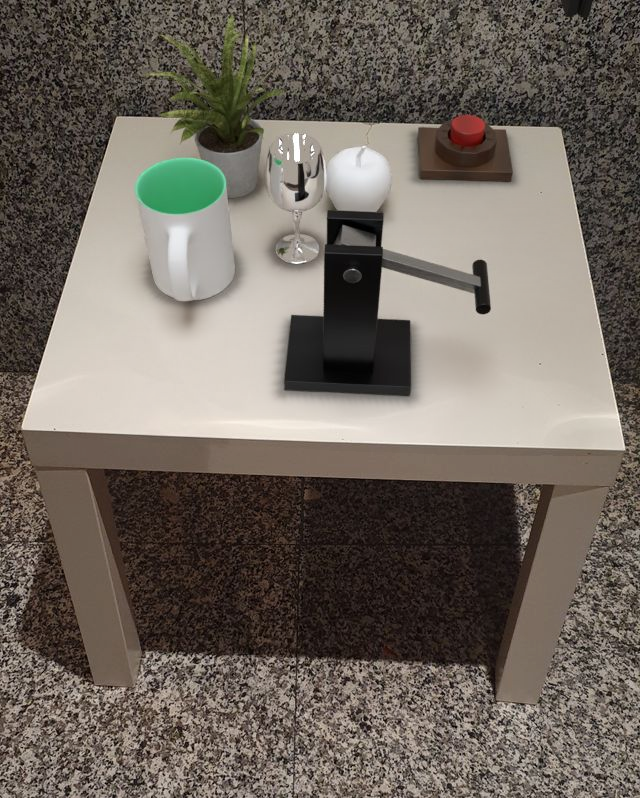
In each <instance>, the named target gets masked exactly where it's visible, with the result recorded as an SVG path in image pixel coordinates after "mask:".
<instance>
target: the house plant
mask: <svg viewBox="0 0 640 798" xmlns="http://www.w3.org/2000/svg"><path fill="white" fill-rule="evenodd" d="M234 22H235V17H234V13H231V15H230V17H229V19H228V21H227V24H226V27H225V32H224V37H223V38H224V40H223V44H222V45H223V46H222V54H221V61H222V64H221V68H220V69H221V71H220V77H219V79H218V77H217V76H216V74H215V73H214V72H213V71H212V70H211V69H210V68H209V67H207V66H206V65H205V64H204V62H203V60H202V57H201V56H200V55H199V54H198V52H197V51H196V50H195V49H193V48H192V47H191V46H189V44H186V43H183V42H179V41H177V40H175V39H174V38H171V37H170V36H168V35H165V34H164V35H163V34H160V33H158V35H159V36H161V37H163V38H164V39H166V40H167V41H169V42H170V43H171V44H173V45H174V46H175V47H176V49H178V50H179V51H180V52H181V53H182V55H183V56H184V57H185V60H187V62H188V64H189V65H190V67H191V70H192V71H193V72H194V73H195V75H196V76H197V78H198V79H199V80H200V82H201V84H202V85H203V87H204V88H205V90H206V91H207V93H206V92H205V91H204V90H203V89H202V88H201V87H200V86H199V85H197V84H196V83H194V82H193V81H191V80H190V79H189V78H187V77H186V76H184V75H182V74H179V73H176V72H173V71H158V72H156V71H155V72H148V73H145V74H144V76H166V78H160V79H158V81H163V80H166V81H167V80H170V81H175V82H177V84H178V85H180V87H181V88H182V89H183V90H184V91H180V92H177V93H175V94H174V95H172V97H171V98H170V99H169V102H170V101H190V102H192V103H193V104H194V105H195V106H196V107H197V108H198V109H176V110H175V109H174V110H170V111H165V112H162V113H160V114H158V115H156V117H159V116H160V117H162V119H167V118H177V119H179V120H177V121H176V122H175V124H174V125H173V127H172V129H171V131H170V134H169V135H171V134H172V133H173V132H175V131H178V130H182V129H183V131H182V134H181V137H180V138H181V139H180V143H179V144H180V146H181V145H182V143H183V142H184V141H186V140H188V139H190V138H192V137H194V142H195V145H196V148H197V151H198V155H199V157H200V160H204V161H207V162H209V163H211V164H213V165H215V166H216V167H218V168H219V169H220V170H221V171H222V173H223V174H224V176H225V179H226V187H227V197H228V199H237V198H242V197H245V196H247V195H249V194H251V193H252V192H253V191H255V189H256V187H257V185H258V178H259V169H260V161H261V160H260V159H261V152H262V142H263V140H264V132H265V129H264V128H263V127H261V125H260V124H259V123H258V121H256V120H255V119H253V118H252V117H251V115H250V114H251V112H252V111H253V110H254V108H255V107H256V106H257V105H258V104H260V103H261V102H263V101H265V100H267V99H268V98H271V97H275V96H276V95H286V93H285V92H284V91H282V90H281V89H279V90H278V89H273V90H269V91H267V92H266V90H265V89H264V88H263V87H259V86H260V85H261V84H262V83H263V82H264V80H265V79H266V78H267V77H268V76H269V75H270V74H271V73H272V72H273V71H274V70H275V69H276V67H274V68H273V69H272V70H270V71H269V72H267V74H265V76H264V77H263V79H262V80H261V81H260V82H258V84H257V85H256V86H255V87H254V88H253V90H252V91H250V92H249V93H247V90H248V86H249V82H250V78H251V76H252V72H253V69H254V65H255V61H256V53H257V43H258V41H257V38H256V39H255V41H254V44H253V46H252V50H251V52H250V54H249V35H248V33H246V36H245V39H244V44H243V47H242V51H241V56H240V57H241V58H240V63H239V67H238V71H237V73H236V74H234V73H233V62H234V61H233V60H234V59H233V58H234V48H235V44H236V41H237V39H238V38H239V37H240V35H241V32H242V30H240V31H238V32H237V33H235V25H234ZM191 53H192V54H191ZM248 55H249V57H248ZM195 59H196V60H195ZM279 66H280V65H279V64H278V65H277V67H279ZM168 77H169V78H168ZM187 83H188V84H190V85H191V86H192V87H194V88H195V89H197V90H198V91H199V92H197V91H193V90H192V88H191V87H190V85H188V84H187ZM255 92H264V94H262V95H260V96H259V97H258V98H257V99H256V100H255V101H254V102H253V103H252V104H251V105H250V106H249V108H248V110H247V112H246V113H245V110H246V108H247V107H248V105H249V103H250V101H251V100H252V97H253V96H254V94H255ZM197 95H198V96H197ZM199 96H200V97H201V98H202V99H201V98H200V97H199ZM203 99H204V100H205V101H206V102H207V103H208V104H209V105H207V103H206V102H204V101H203ZM209 106H210V107H211V108H212V109H211V108H210V107H209ZM244 113H245V114H244ZM243 114H244V115H243Z"/></svg>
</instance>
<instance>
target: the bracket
mask: <svg viewBox="0 0 640 798" xmlns="http://www.w3.org/2000/svg"><path fill="white" fill-rule="evenodd" d="M384 213H385V212H383V211H377V212H363V211H338V210H337V209H336V210H333V209H327V214H326V244H324V249H323V315H306V314H305V315H304V314H303V315H302V314H301V315H300V314H291V315H290V324H289V331H288V332H289V333H288V343H287V349H286V350H287V352H286V360H285V370H284V377H283V385H284V386H283V387H284V390H285V391H299V392H300V391H304V392H325V393H343V394H363V395H364V394H365V395H384V396H385V395H388V396H407V397H409V396H411V390H412V354H411V352H412V348H411V347H412V346H411V343H412V342H411V339H412V338H411V320H410V319H393V318H392V319H391V318H379V308H380V307H379V306H380V296H381V295H380V294H381V285H382V283H381V282H382V270H383V268H382V260H383V249H384V247H383V246H382V243H383V232H384V217H385V215H384ZM342 225H345V226H349V227H352V228H355V229H359V230H362V231H366V232H369V233H372V234H376V246H354V245H334V243H335V240H336V238H337V236H338V234H339V231H340V229H341V227H342Z"/></svg>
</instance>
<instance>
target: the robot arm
mask: <svg viewBox="0 0 640 798" xmlns="http://www.w3.org/2000/svg"><path fill="white" fill-rule="evenodd" d="M560 3H561V6H562V10H563V13H564V17H565V18H574V17H575V16H579V17H580V18H587V19H588V18H589V17H590V13H591V10H592V6H593V3H594V0H560Z"/></svg>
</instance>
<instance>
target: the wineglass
mask: <svg viewBox="0 0 640 798" xmlns="http://www.w3.org/2000/svg"><path fill="white" fill-rule="evenodd" d="M326 166H327V164H326V160H325V156H324V153H323V149H322V146H321V143H320V142H319V140H318V139H316V138H315V137H313V136H312V135H309V134H307V133H302V132H289V133H285V134H282V135H280V136H277V137H275V138H274V139H273V140H272V141H271V143H270V145H269V148H268V153H267V156H266V161H265V167H264V168H265V169H264V184H265V189H266V192H267V195H268V197H269V199H270V201H271V202H272V203H273V204H274V205H275V206H276V207H278V208H279V209H281V210H283V211H287V212H289V213H290V212H291V218H292V221H293V224H294V233H292V234H288V235H285V236H283V237H282V238H281V239H279V240H278V242H277V243H276V245H275V253H276V255H277V257H278V258H279V259H280V260H282V261H283V262H285V263H288V264H292V265H302V264H307V263H309V262H312V261H314V260H315V259H316V258H318V256H319V253H320V244H319V242H318V241H317V240H316V239H315V238H314V237H312V236H310V235H308V234H304V233H301V232H300V223H301V219H302V216H303V212H306V211H307V212H308V211H309V210H312V209H314V208H315V207H316V206H317V205H318V204H319V203H320V202H321V200H322V199H323V197H324V195H325V193H326V184H327V173H326Z"/></svg>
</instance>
